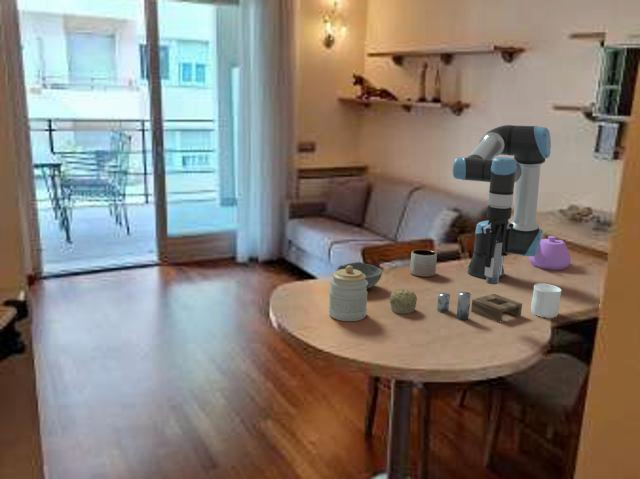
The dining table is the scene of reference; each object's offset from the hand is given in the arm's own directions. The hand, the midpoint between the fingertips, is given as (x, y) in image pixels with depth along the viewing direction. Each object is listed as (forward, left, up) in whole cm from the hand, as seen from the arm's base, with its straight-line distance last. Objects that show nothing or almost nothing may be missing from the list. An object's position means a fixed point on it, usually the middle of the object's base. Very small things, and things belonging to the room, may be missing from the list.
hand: (492, 274), depth 196 cm
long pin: (0, 0, -3) cm, 3 cm away
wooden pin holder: (-9, -4, -17) cm, 19 cm away
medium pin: (+5, -7, -17) cm, 19 cm away
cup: (-24, +5, -17) cm, 29 cm away
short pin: (+5, -16, -17) cm, 23 cm away
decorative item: (+17, -24, -17) cm, 34 cm away
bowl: (+15, -51, -17) cm, 56 cm away
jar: (+37, -30, -17) cm, 51 cm away
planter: (-21, -52, -17) cm, 58 cm away
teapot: (-81, -32, -17) cm, 88 cm away
